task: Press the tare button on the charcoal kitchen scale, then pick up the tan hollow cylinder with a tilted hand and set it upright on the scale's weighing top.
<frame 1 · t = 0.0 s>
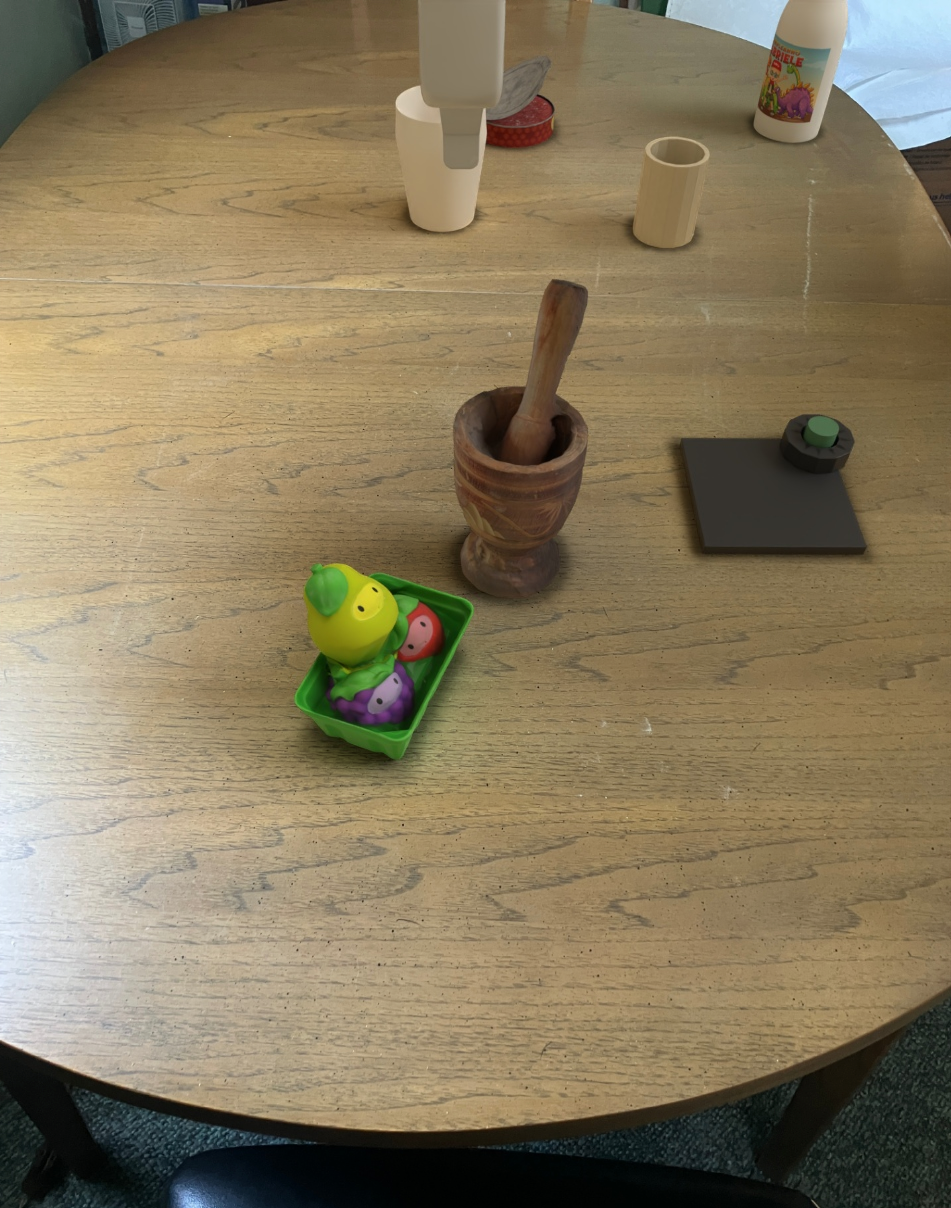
hand: (461, 120, 52), 29 cm above the table, tool pointing down, fingers open, 8 cm apart
mortar and pestle: (513, 550, 71), on the table
fruit basket: (383, 695, 63), on the table
scale: (765, 502, 74), on the table
cup: (442, 222, 101), on the table
milk bottle: (783, 134, 115), on the table
canned food: (511, 135, 113), on the table
tare button: (820, 432, 75), point 3 cm above the table, slide at 0.1 cm
tan hollow cylinder: (661, 237, 99), on the table
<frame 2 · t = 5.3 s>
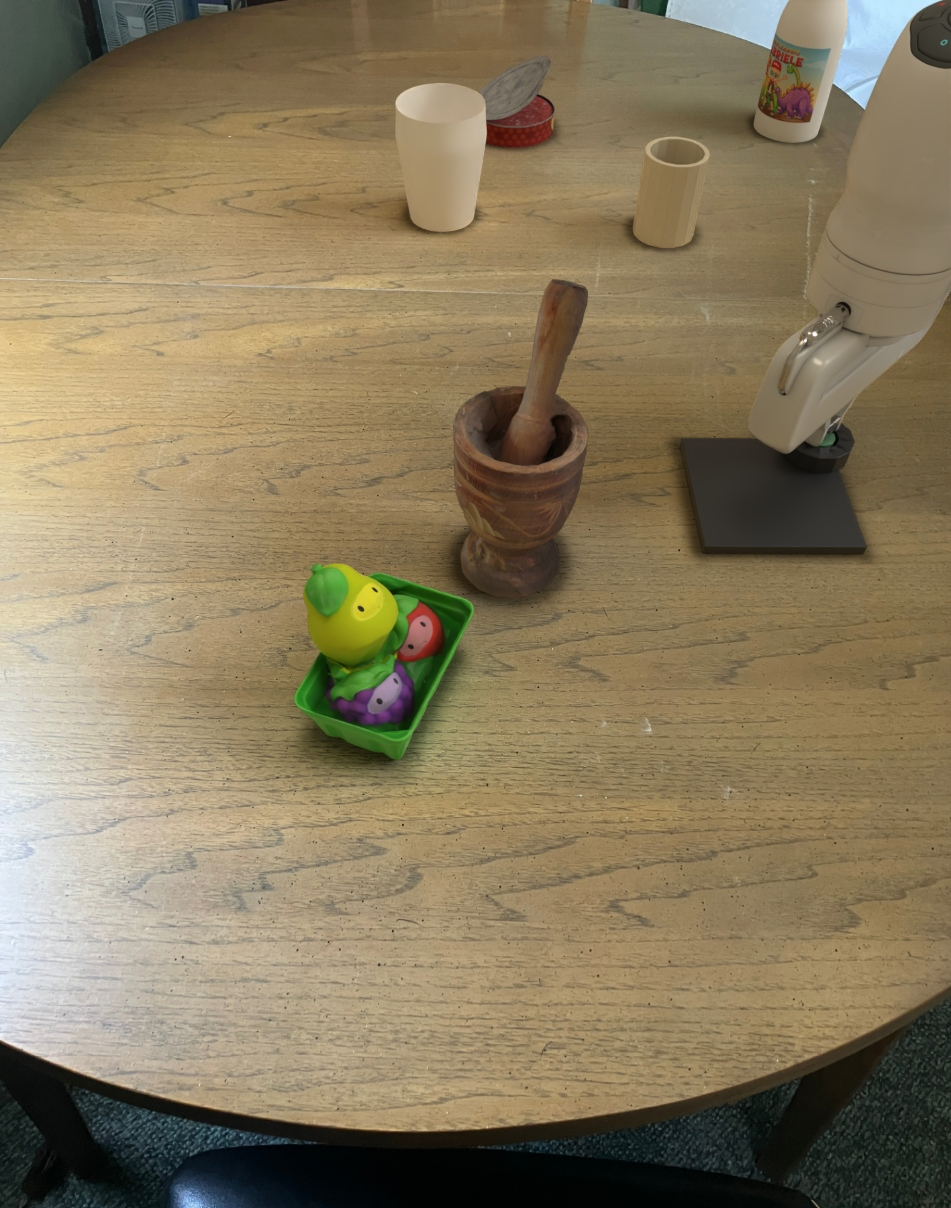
hand: (817, 434, 75), 3 cm above the table, tool pointing down, fingers closed, pressing on tare button
tare button: (817, 441, 76), point 2 cm above the table, slide at -0.8 cm, touching gripper
everything else where it was.
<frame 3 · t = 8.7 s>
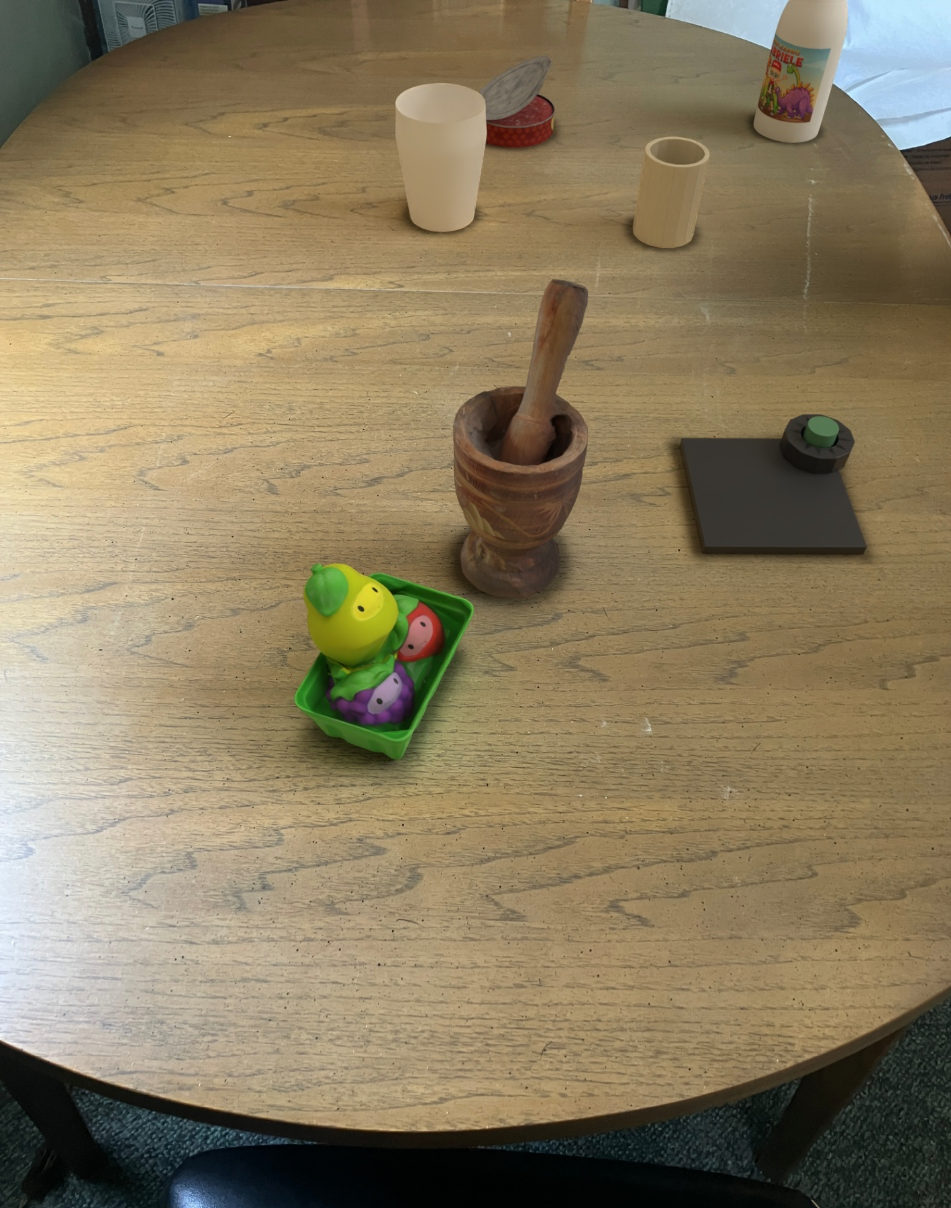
tare button: (820, 432, 75), point 3 cm above the table, slide at 0.1 cm
everything else where it was.
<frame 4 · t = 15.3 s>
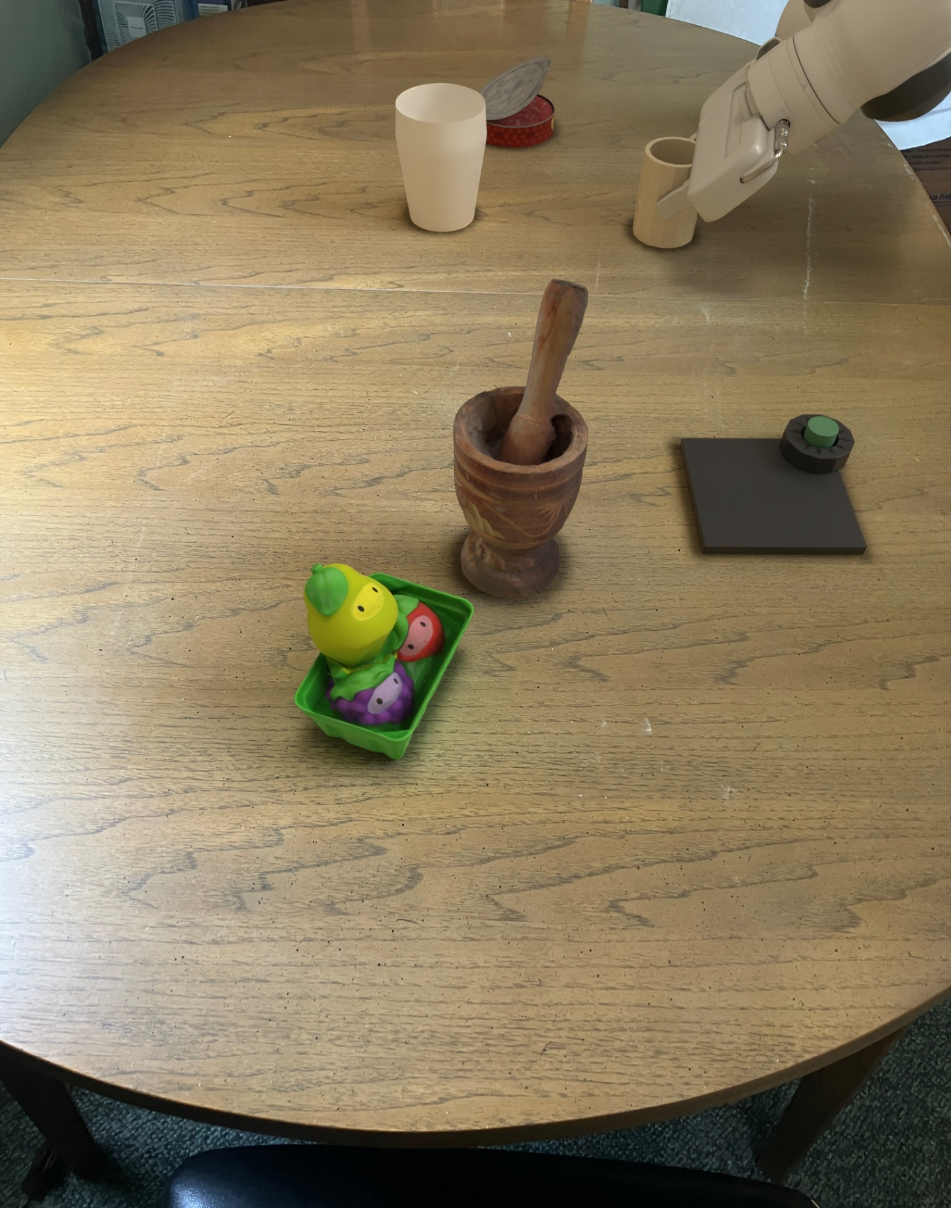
hand: (663, 191, 95), 5 cm above the table, tool tilted 45°, fingers closed on tan hollow cylinder, 6 cm apart
tan hollow cylinder: (661, 237, 99), on the table, touching gripper
everything else where it was.
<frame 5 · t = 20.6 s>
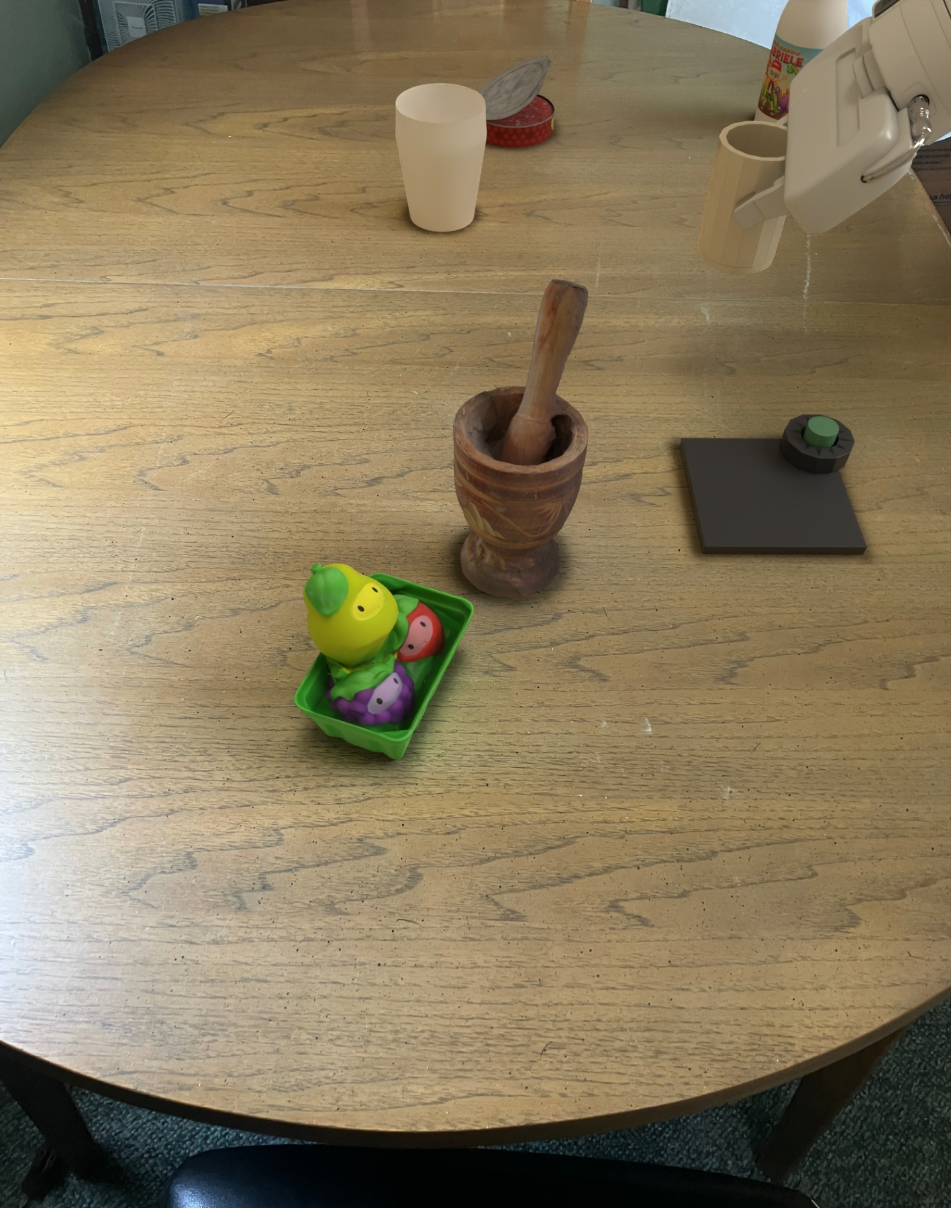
hand: (741, 193, 72), 16 cm above the table, tool tilted 45°, fingers closed on tan hollow cylinder, 6 cm apart
tan hollow cylinder: (734, 253, 76), point 11 cm above the table, touching gripper
everything else where it was.
when the fingers open (6 cm above the table, at t = 26.3 s): tan hollow cylinder stays where it is, resting on scale.
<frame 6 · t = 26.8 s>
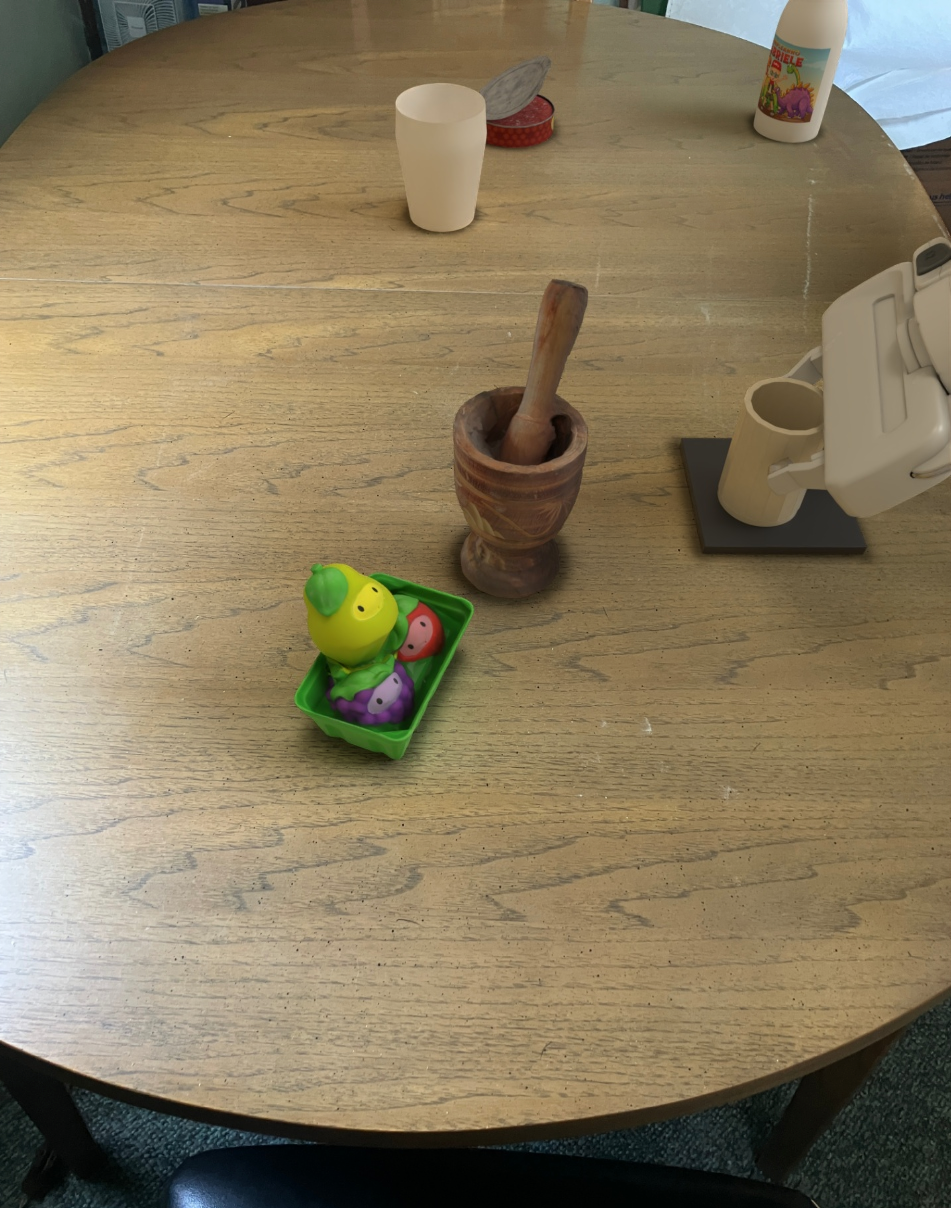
hand: (772, 438, 68), 7 cm above the table, tool tilted 45°, fingers open, 8 cm apart
tan hollow cylinder: (757, 497, 73), point 1 cm above the table, touching scale
everything else where it was.
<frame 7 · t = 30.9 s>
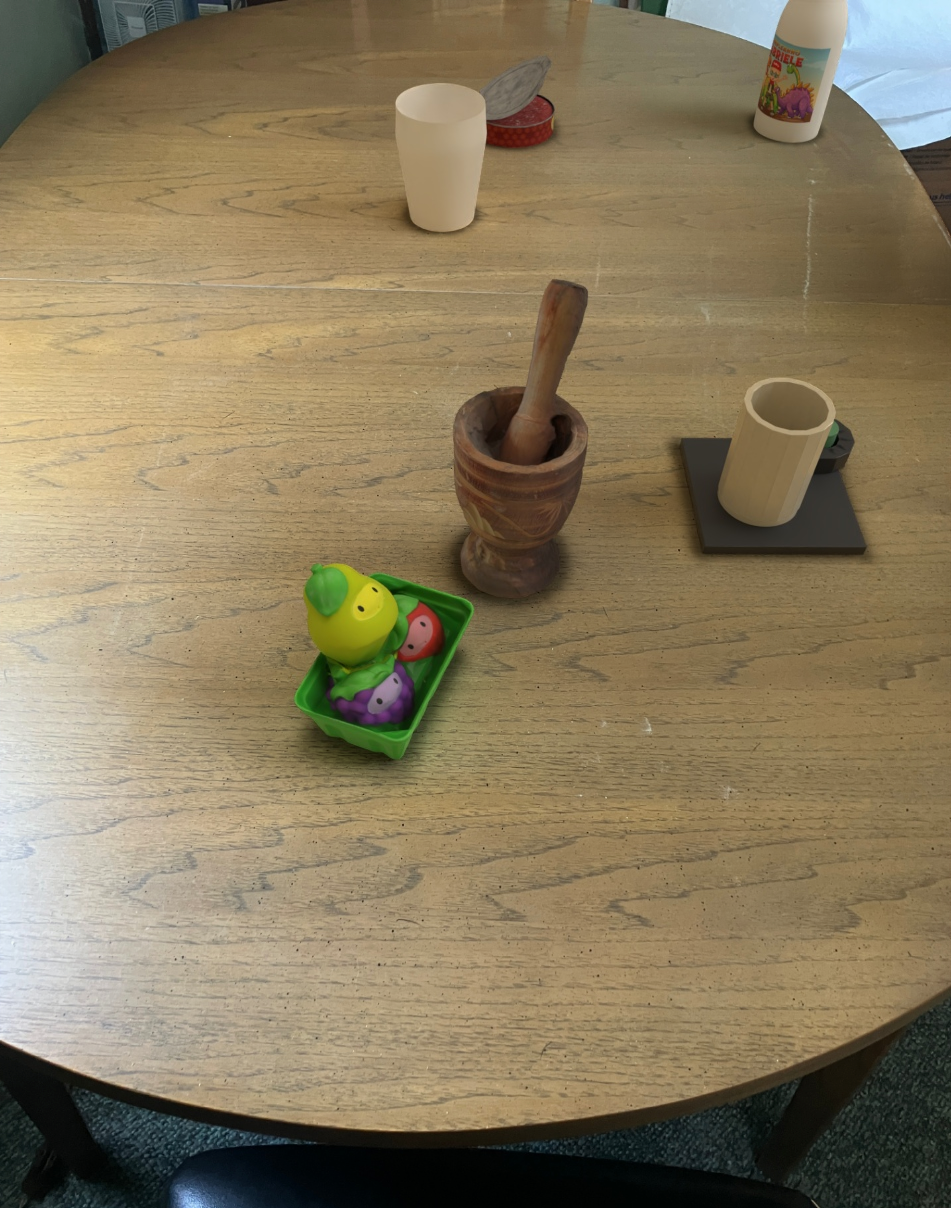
nothing on the table moved.
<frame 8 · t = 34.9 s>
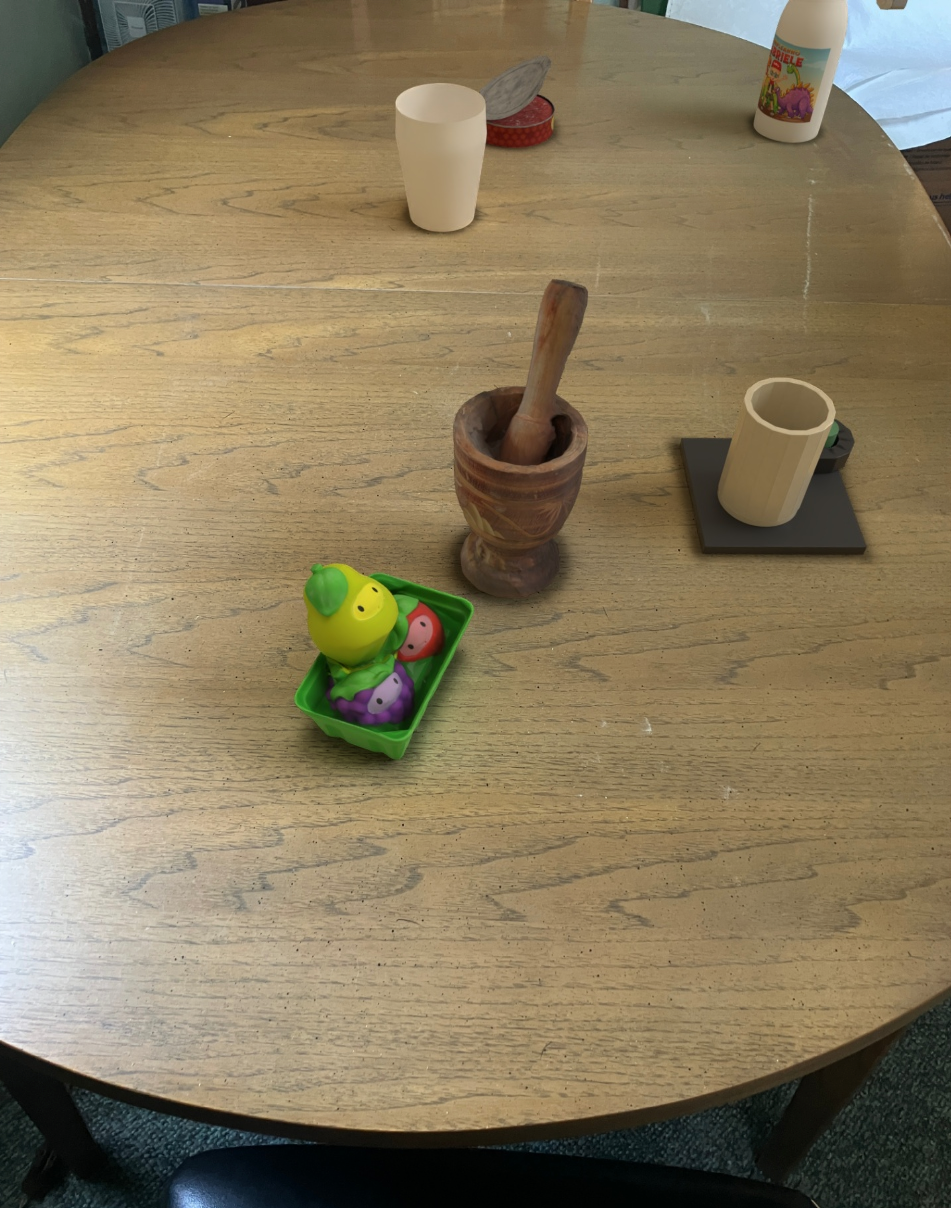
nothing on the table moved.
at the end: tare button pushed in 0.8 cm at the most during the clip, back to where it started at the end; tan hollow cylinder inside the target area on the scale (0.7 cm from its centre), point 1.4 cm above the scale's base; tan hollow cylinder touching scale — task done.
